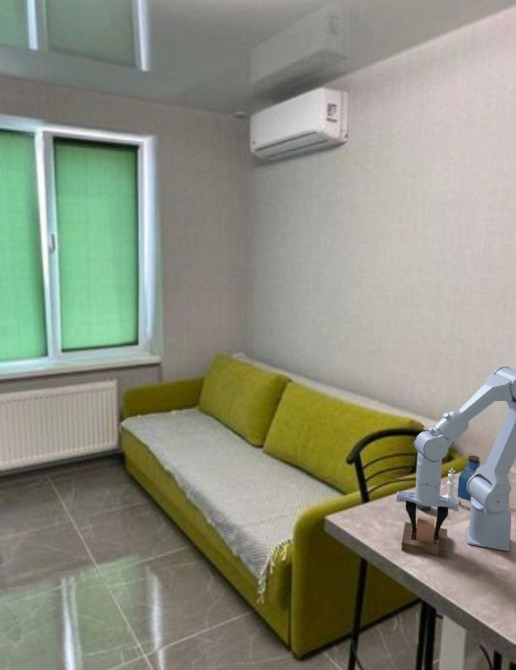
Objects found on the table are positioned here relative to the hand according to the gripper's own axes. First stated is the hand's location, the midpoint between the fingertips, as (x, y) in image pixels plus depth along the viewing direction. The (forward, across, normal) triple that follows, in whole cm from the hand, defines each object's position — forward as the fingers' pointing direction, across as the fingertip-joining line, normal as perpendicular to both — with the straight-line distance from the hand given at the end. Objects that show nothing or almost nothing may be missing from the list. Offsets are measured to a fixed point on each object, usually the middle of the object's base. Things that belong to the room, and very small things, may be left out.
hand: (425, 532), depth 129 cm
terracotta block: (+3, 0, 0) cm, 3 cm away
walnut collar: (+3, 0, 0) cm, 3 cm away
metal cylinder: (+3, +1, -19) cm, 19 cm away
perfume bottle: (+3, -12, -32) cm, 34 cm away
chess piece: (+3, -6, -26) cm, 27 cm away
